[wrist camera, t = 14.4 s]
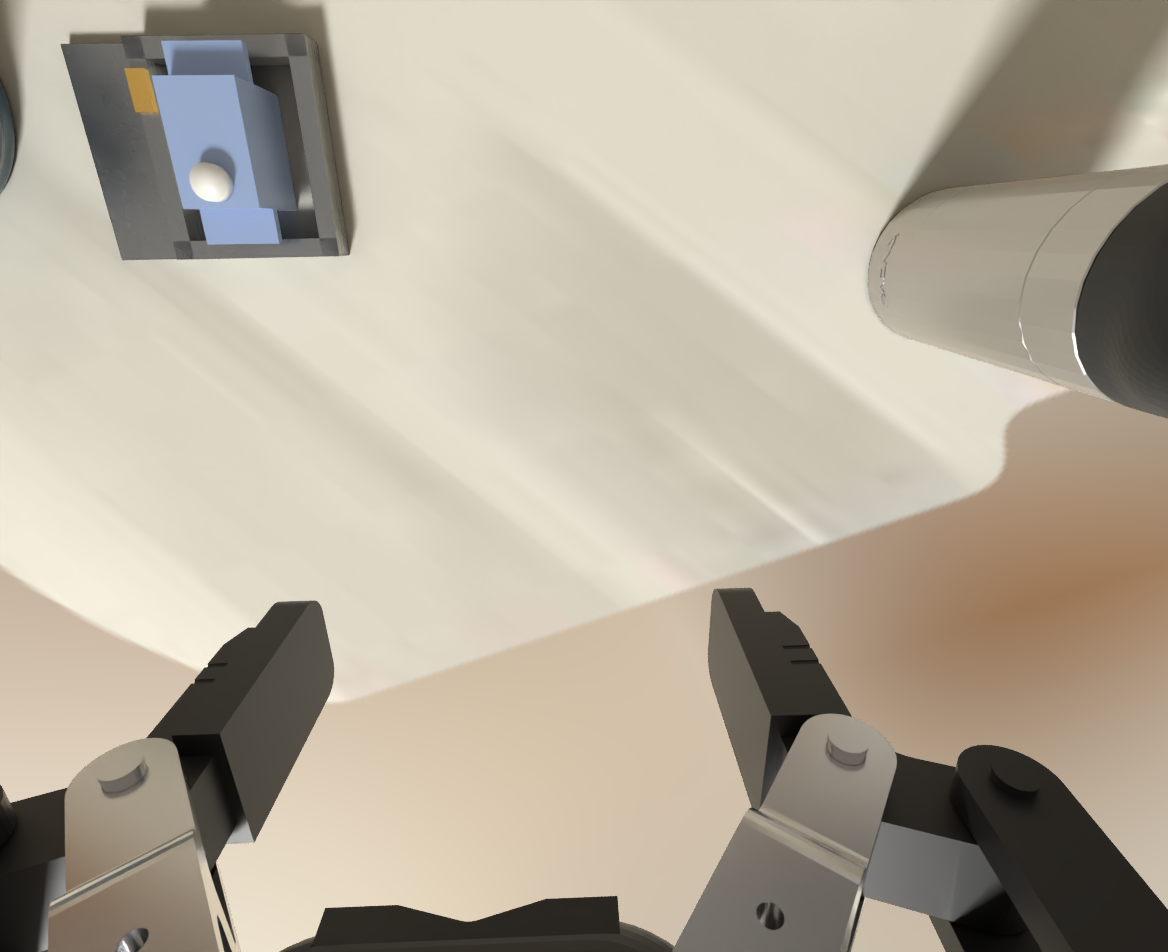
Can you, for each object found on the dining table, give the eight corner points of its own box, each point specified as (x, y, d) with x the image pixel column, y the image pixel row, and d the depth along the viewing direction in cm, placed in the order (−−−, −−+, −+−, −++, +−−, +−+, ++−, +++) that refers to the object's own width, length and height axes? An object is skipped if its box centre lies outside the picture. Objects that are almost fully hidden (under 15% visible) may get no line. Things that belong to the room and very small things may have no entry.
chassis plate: (316, 43, 34) (301, 31, 32) (349, 254, 38) (336, 256, 36) (68, 47, 33) (36, 35, 31) (128, 259, 38) (103, 261, 35)
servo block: (271, 58, 34) (216, 25, 29) (303, 242, 38) (260, 244, 32) (198, 58, 34) (130, 26, 28) (238, 243, 37) (183, 245, 32)
